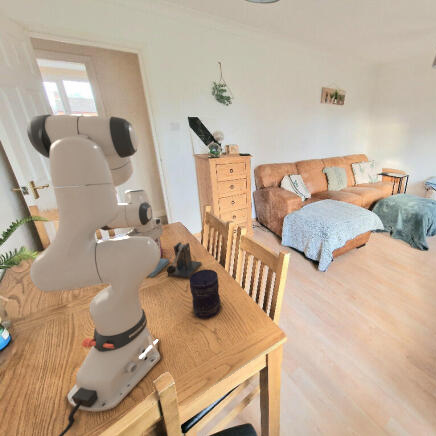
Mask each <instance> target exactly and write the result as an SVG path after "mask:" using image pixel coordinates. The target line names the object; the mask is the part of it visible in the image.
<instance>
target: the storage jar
mask: <svg viewBox="0 0 436 436" xmlns="http://www.w3.org/2000/svg"><path fill="white" fill-rule="evenodd" d="M218 277H219V276H218V273H217V272H216V271H215V270H214V269H201V270H198V271H197V270H196V271H195V272H194V273H193V274H192V275H191V276H190V278H189V280H188V281H189V289H190V293H191V296H192V309H193V314H194V316H195V317H196V318H197V319H203V320H207V319H210V318H211V319H212V318H213V317H215V316H216V315H217V314H219V312H220V310H221V297H220V293H219V288H220V285H219V278H218Z"/></svg>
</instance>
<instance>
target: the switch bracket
mask: <svg viewBox="0 0 436 436" xmlns="http://www.w3.org/2000/svg"><path fill="white" fill-rule="evenodd" d="M180 244H182V242H181V241H178V243H175V245H174V246H173V250H174V251H173V252H174V257H176V255H177V253H178V252H179V250H178V247H179V245H180ZM182 251H183V252H182V253H181V255H180V257H179V259H178V261H177V263H176V265H175V268H176V271H175V272H174V273H173V274H169V273H167V276H168V277H171V278H178V279H179V278H180V279H186V280H188V279H190V277H191V275H192V274H194V273H195V272H197V270H198V269H199V268H200V267H201V265H202V261H198V260H192V253H191V246H190V242H186V243H185V244H184V246H183V247H182Z"/></svg>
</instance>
